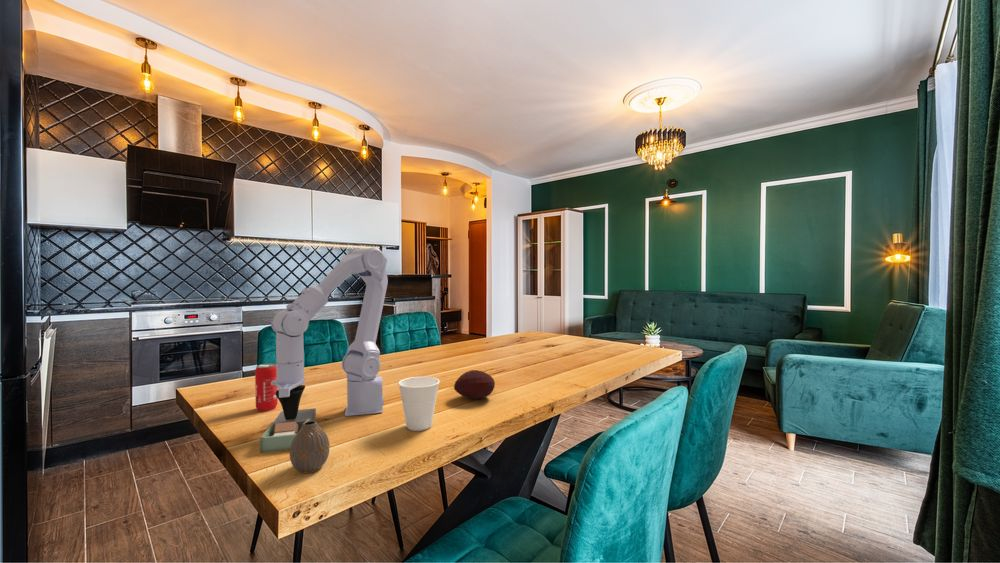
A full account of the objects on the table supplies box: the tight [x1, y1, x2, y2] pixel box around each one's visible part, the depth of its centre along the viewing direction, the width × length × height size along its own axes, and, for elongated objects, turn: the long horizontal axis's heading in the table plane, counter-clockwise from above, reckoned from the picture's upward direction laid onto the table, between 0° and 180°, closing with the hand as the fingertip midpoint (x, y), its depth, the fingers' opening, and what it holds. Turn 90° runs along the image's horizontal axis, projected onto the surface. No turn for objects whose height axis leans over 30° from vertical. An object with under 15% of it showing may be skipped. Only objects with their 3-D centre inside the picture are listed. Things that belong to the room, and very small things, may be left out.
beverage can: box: [254, 363, 279, 412], centre depth 110 cm, size 5×5×12 cm
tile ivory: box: [273, 430, 295, 436], centre depth 87 cm, size 4×4×2 cm
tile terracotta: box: [274, 422, 298, 434], centre depth 90 cm, size 4×4×2 cm
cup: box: [397, 376, 440, 432], centre depth 97 cm, size 10×10×11 cm
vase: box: [289, 420, 331, 474], centre depth 77 cm, size 7×7×9 cm
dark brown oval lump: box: [453, 369, 496, 400], centre depth 119 cm, size 12×11×8 cm
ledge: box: [273, 407, 317, 431], centre depth 98 cm, size 8×9×2 cm
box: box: [259, 419, 310, 454], centre depth 89 cm, size 8×10×3 cm
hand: (291, 418), depth 94 cm, fingers closed
